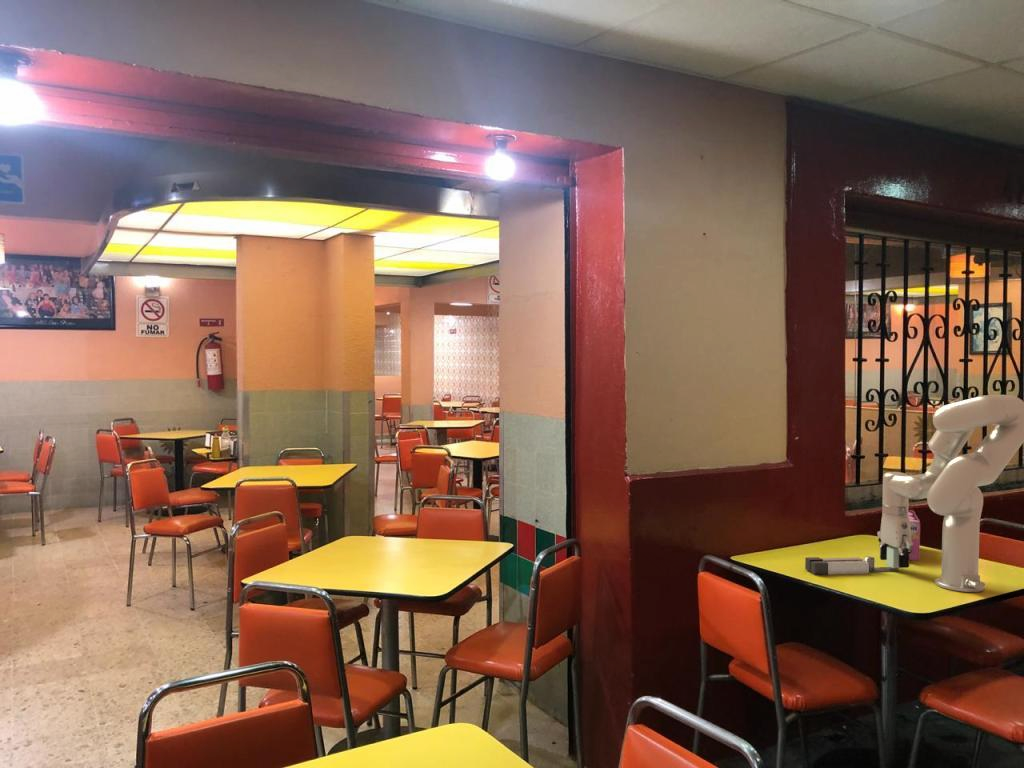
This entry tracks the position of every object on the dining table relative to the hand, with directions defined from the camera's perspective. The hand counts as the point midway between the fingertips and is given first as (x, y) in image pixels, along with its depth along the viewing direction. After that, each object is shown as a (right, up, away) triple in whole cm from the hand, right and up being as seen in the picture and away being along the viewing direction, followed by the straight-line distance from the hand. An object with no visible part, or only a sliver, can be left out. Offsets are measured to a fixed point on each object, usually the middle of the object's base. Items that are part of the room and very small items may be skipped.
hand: (894, 563), depth 247 cm
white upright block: (0, -1, 0) cm, 1 cm away
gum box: (+16, -2, +24) cm, 29 cm away
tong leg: (-20, -2, -1) cm, 20 cm away
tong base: (-14, -2, -2) cm, 14 cm away
